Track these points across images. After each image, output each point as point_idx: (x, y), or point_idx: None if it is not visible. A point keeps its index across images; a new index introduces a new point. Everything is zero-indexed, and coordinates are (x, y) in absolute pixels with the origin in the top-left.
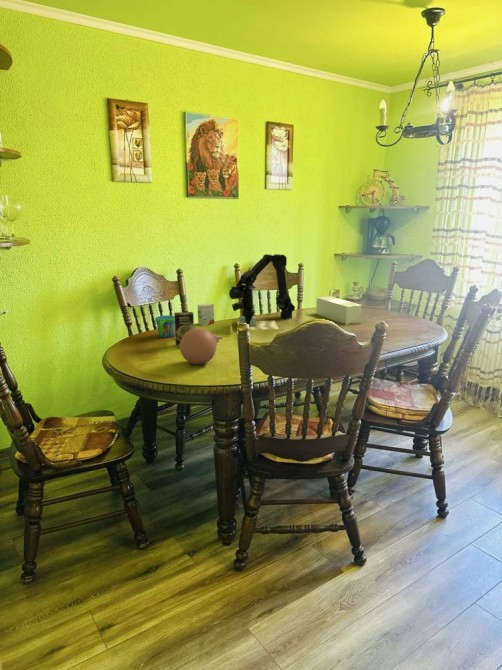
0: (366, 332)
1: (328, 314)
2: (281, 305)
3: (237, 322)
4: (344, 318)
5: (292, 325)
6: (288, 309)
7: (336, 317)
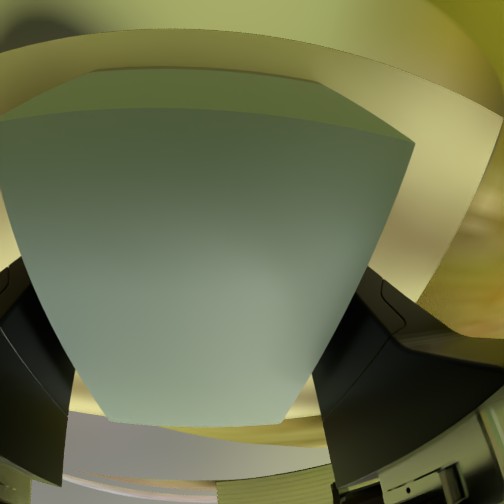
0: (124, 481)
1: (315, 479)
2: (373, 501)
3: (453, 94)
4: (226, 496)
5: (231, 438)
6: (334, 493)
7: (268, 487)
